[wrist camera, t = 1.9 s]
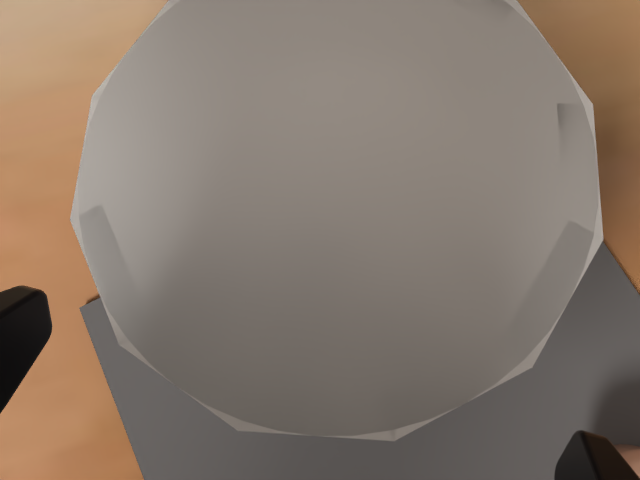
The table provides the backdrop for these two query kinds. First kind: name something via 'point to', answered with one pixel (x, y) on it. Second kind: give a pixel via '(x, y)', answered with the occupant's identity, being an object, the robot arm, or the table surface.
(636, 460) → the pinkish tan round piece
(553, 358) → the mat
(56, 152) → the table surface
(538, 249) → the cover cup
